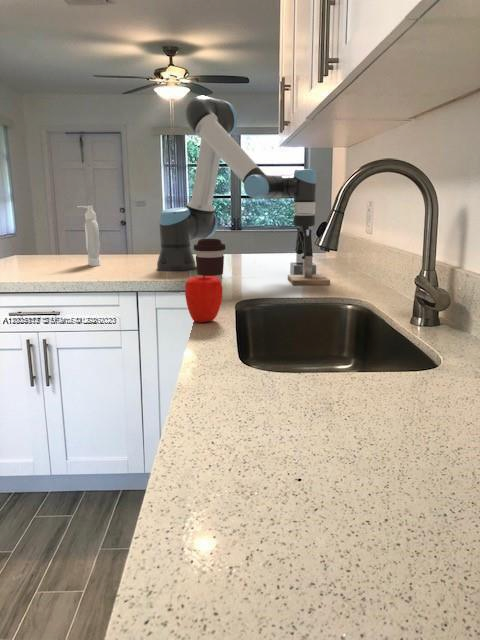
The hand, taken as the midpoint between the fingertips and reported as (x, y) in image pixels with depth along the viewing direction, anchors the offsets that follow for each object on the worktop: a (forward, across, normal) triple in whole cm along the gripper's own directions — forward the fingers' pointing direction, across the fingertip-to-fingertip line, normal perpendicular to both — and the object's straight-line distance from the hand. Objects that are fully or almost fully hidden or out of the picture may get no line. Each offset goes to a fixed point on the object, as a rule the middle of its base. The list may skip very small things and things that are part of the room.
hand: (303, 274), depth 183 cm
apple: (0, +65, -36) cm, 74 cm away
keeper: (0, +15, -1) cm, 15 cm away
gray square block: (0, 0, 0) cm, 0 cm away
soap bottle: (0, -36, -84) cm, 91 cm away
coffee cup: (0, +21, -34) cm, 40 cm away
